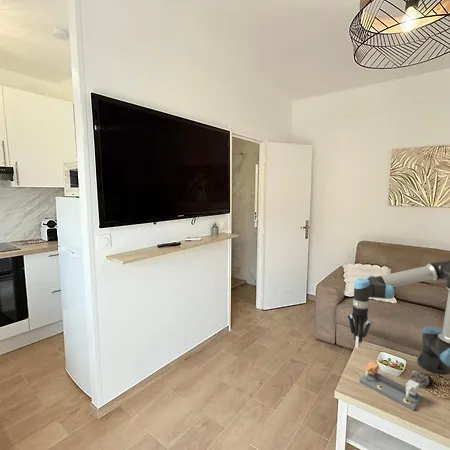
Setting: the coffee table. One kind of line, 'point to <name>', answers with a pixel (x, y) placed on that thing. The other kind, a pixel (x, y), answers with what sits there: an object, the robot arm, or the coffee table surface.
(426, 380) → the grey rock
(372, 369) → the sliding leg
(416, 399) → the plate
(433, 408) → the coffee table surface
